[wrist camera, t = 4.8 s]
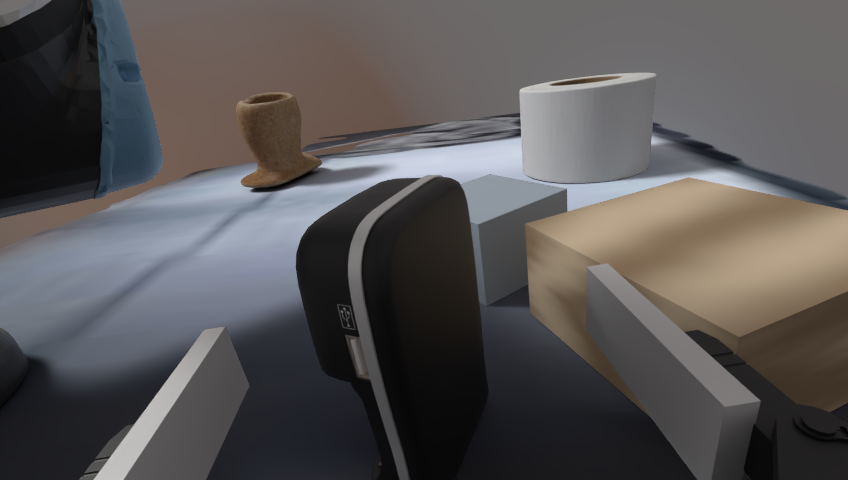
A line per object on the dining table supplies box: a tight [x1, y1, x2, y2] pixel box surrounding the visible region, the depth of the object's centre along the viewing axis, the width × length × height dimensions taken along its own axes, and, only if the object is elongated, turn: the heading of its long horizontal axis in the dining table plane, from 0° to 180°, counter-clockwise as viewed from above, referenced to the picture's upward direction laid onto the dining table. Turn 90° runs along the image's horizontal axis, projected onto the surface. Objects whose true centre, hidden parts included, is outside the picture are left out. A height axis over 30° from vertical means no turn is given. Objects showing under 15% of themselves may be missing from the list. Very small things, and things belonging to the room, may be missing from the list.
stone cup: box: [236, 92, 322, 188], centre depth 71 cm, size 15×12×15 cm
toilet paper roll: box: [520, 73, 657, 183], centre depth 52 cm, size 16×15×11 cm
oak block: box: [525, 178, 848, 417], centre depth 20 cm, size 12×12×6 cm
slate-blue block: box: [460, 174, 567, 306], centre depth 31 cm, size 8×8×6 cm
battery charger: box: [296, 175, 488, 480], centre depth 16 cm, size 7×4×11 cm, turn 155°
